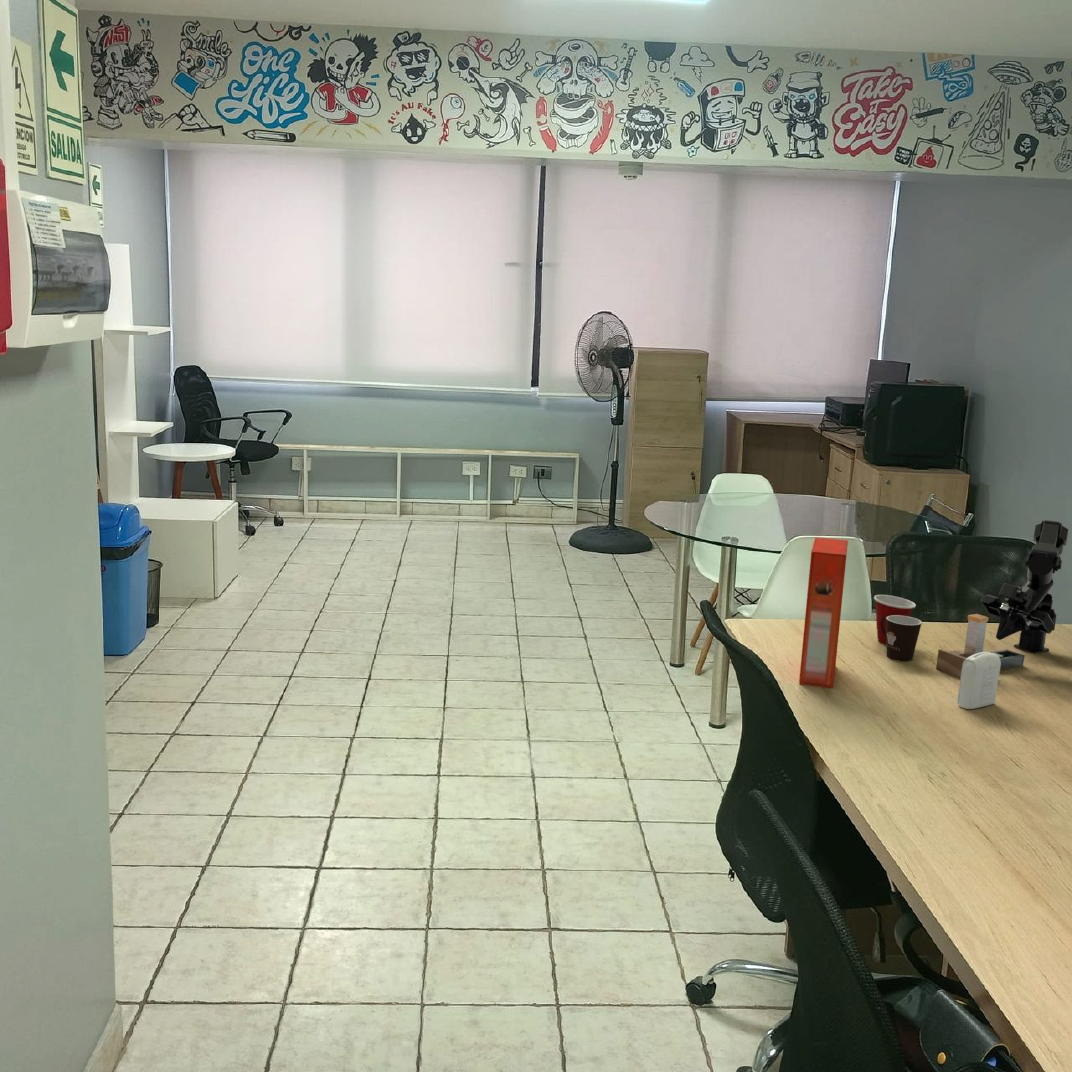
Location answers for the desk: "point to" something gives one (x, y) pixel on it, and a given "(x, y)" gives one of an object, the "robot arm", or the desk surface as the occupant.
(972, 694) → the photo printer
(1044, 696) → the desk surface
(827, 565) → the file binder
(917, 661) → the desk surface
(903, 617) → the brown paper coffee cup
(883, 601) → the plastic cup
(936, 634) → the desk surface
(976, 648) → the grey orange-topped post
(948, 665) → the socket
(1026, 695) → the desk surface
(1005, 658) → the sleeve
